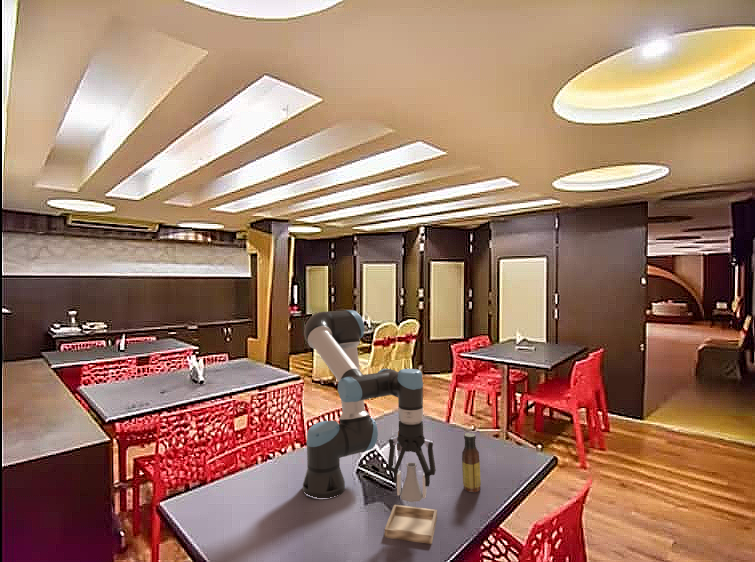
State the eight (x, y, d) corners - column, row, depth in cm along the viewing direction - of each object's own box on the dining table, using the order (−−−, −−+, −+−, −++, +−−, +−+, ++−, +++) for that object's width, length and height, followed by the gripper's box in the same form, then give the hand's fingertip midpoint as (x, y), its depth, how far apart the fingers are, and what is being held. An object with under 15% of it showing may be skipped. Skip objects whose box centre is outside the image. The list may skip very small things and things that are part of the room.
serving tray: (384, 537, 129) (384, 529, 129) (394, 512, 143) (394, 504, 143) (431, 544, 126) (431, 535, 126) (437, 517, 140) (437, 509, 140)
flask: (422, 504, 130) (421, 470, 130) (398, 501, 131) (397, 468, 131) (424, 491, 137) (424, 460, 137) (401, 489, 138) (401, 458, 138)
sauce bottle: (478, 484, 161) (477, 431, 160) (482, 493, 155) (482, 437, 154) (460, 485, 161) (460, 431, 160) (464, 493, 154) (464, 437, 154)
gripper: (376, 422, 133) (377, 497, 133) (442, 427, 128) (443, 504, 128) (381, 414, 140) (382, 485, 140) (445, 418, 135) (445, 492, 135)
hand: (411, 494), depth 134 cm, fingers closed on flask, 7 cm apart
